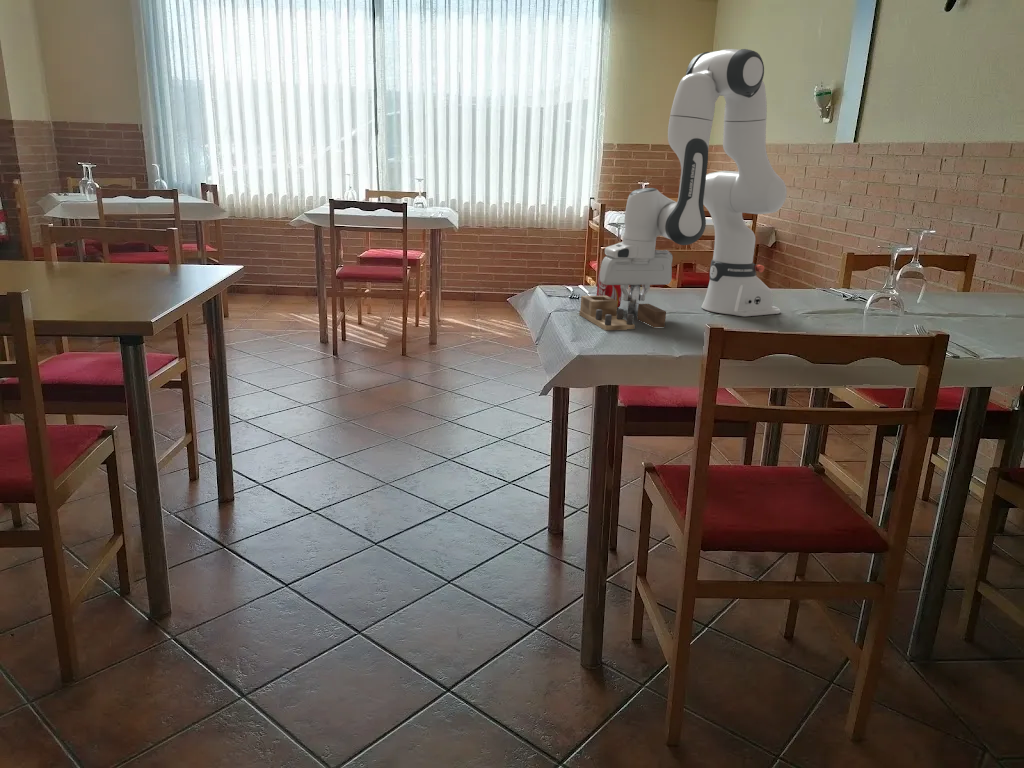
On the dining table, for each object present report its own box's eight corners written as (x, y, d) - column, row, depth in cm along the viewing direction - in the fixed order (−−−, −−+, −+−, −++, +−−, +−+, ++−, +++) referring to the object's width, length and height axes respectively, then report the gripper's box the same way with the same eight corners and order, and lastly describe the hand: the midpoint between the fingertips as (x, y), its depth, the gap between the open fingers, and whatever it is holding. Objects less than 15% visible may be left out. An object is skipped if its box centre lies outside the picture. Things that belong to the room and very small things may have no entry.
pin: (634, 314, 216) (637, 282, 213) (639, 316, 213) (642, 283, 211) (625, 314, 215) (628, 282, 212) (629, 316, 213) (632, 283, 210)
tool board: (606, 314, 214) (607, 295, 213) (634, 329, 198) (636, 309, 196) (579, 314, 212) (580, 295, 210) (605, 330, 195) (607, 310, 194)
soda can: (619, 311, 218) (623, 269, 215) (594, 309, 220) (597, 267, 216) (621, 306, 225) (624, 265, 222) (596, 304, 226) (600, 263, 223)
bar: (647, 319, 210) (648, 303, 209) (664, 328, 201) (666, 311, 200) (637, 320, 209) (638, 303, 208) (654, 328, 200) (655, 311, 199)
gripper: (667, 248, 215) (662, 297, 219) (599, 248, 209) (595, 298, 213) (678, 251, 209) (673, 302, 213) (608, 251, 203) (604, 303, 207)
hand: (633, 300), depth 213 cm, fingers closed on pin, 3 cm apart
